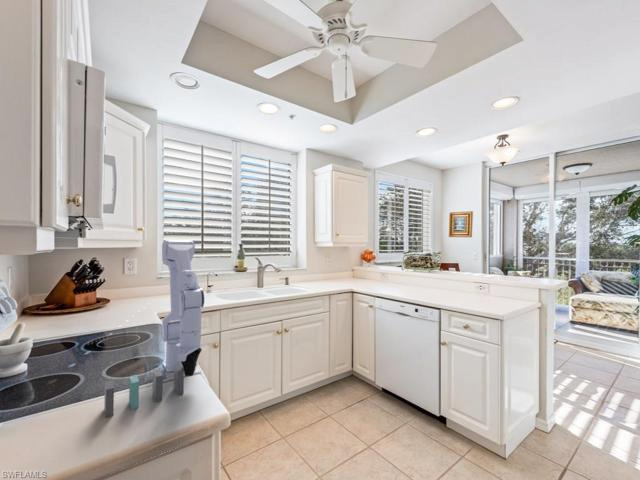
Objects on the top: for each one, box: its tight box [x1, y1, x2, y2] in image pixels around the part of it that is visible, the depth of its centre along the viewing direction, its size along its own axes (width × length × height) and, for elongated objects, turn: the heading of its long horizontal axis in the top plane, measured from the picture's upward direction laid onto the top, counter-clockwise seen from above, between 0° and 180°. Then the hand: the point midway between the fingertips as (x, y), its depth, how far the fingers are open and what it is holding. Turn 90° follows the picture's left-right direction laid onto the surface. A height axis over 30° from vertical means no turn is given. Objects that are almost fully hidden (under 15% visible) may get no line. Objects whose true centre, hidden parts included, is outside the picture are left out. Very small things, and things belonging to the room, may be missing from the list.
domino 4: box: [173, 364, 185, 396], centre depth 83 cm, size 2×4×7 cm, turn 40°
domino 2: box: [128, 374, 140, 411], centre depth 76 cm, size 2×4×7 cm, turn 40°
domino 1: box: [103, 380, 115, 418], centre depth 73 cm, size 2×4×7 cm, turn 40°
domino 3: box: [152, 368, 164, 403], centre depth 80 cm, size 2×4×7 cm, turn 40°
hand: (189, 374), depth 85 cm, fingers closed
